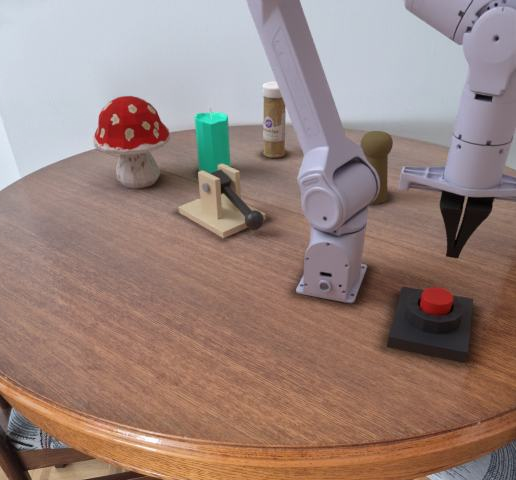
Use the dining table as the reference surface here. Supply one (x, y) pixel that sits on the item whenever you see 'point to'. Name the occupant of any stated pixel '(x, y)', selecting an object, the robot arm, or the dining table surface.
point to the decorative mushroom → (132, 139)
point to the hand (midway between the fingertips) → (452, 253)
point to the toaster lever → (239, 202)
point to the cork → (378, 158)
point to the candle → (212, 140)
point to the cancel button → (436, 301)
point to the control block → (431, 327)
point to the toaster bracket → (217, 204)
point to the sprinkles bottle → (273, 121)
